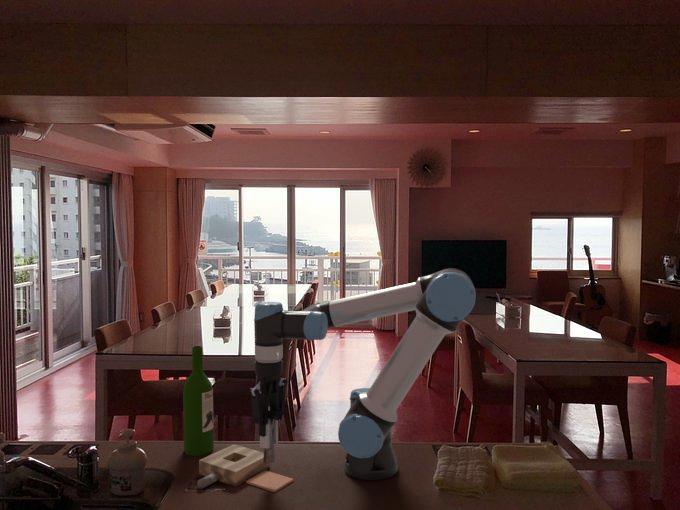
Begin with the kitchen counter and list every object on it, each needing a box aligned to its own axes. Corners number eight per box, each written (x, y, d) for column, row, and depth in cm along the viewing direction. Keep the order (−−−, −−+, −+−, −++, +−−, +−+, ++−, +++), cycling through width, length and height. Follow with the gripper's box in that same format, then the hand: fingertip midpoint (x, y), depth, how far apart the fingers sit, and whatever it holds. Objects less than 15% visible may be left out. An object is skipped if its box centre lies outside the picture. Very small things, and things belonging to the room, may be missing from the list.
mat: (293, 481, 156) (293, 478, 156) (274, 492, 150) (274, 490, 150) (265, 472, 162) (265, 470, 162) (246, 483, 155) (246, 481, 155)
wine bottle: (204, 457, 173) (202, 350, 171) (178, 454, 175) (176, 349, 173) (218, 446, 181) (217, 344, 179) (193, 443, 184) (192, 343, 182)
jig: (269, 467, 165) (269, 454, 165) (219, 495, 148) (219, 480, 148) (234, 457, 173) (233, 444, 172) (182, 482, 156) (182, 467, 156)
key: (262, 456, 159) (261, 404, 158) (283, 462, 155) (283, 409, 154) (254, 459, 156) (254, 407, 156) (276, 466, 152) (276, 412, 151)
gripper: (276, 352, 163) (277, 433, 164) (237, 363, 149) (238, 451, 151) (297, 355, 159) (298, 438, 160) (259, 367, 145) (260, 458, 147)
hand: (269, 444), depth 155 cm, fingers closed on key, 3 cm apart
